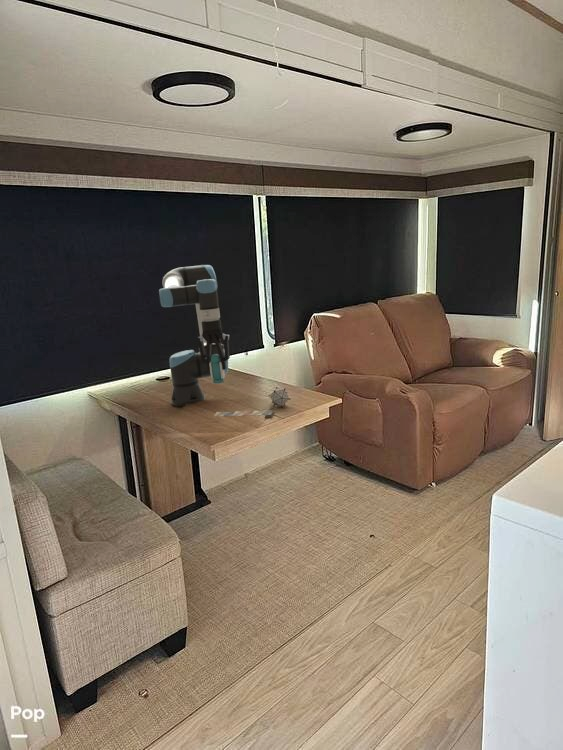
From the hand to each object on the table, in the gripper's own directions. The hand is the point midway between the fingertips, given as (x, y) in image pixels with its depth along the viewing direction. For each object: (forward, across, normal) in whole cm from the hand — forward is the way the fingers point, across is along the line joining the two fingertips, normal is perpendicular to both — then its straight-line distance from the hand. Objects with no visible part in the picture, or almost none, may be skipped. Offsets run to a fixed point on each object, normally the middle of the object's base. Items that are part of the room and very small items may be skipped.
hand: (218, 377), depth 201 cm
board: (+17, +9, +1) cm, 19 cm away
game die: (+17, +22, +12) cm, 30 cm away
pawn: (+2, 0, 0) cm, 2 cm away
